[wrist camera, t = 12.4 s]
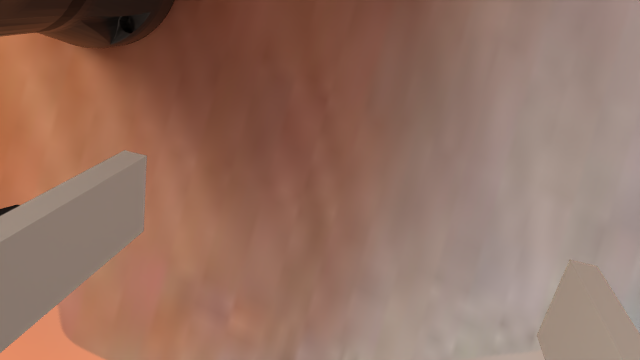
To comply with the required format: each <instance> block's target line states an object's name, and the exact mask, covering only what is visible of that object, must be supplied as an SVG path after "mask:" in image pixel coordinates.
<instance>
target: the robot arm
mask: <svg viewBox="0 0 640 360" xmlns="http://www.w3.org/2000/svg"><path fill="white" fill-rule="evenodd" d="M173 2H174V0H0V36H8V35H17V34H26V33H35V32H37V33H40V34H43V35H46V36H49V37H52V38H55V39H58V40H61V41H64V42H67V43H70V44H73V45H76V46H81V47H87V48H108V47H114V46H120V45H125V44H129V43H132V42H135V41H137V40H139V39H141V38H143V37H145V36H146V35H148V34H149V33H150V32H152V31H153V30H154V29H155V28H156V27H157V26H158V25H159V24H160V23H161V22H162V21H163V19H164V18H165V17H166V15H167V13H168V12H169V10H170V8H171V6H172V4H173ZM146 161H147V156H146V155H142V154H138V153H134V152H130V151H125V150H124V151H122V152H120V153H118V154H117V155H115V156H113V157H111V158H109V159H107V160H105V161H103V162H101V163H100V164H98V165H96V166H94V167H92V168H90V169H88V170H86V171H84V172H83V173H81V174H79V175H77V176H75V177H73V178H71V179H69V180H67V181H66V182H64V183H62V184H60V185H58V186H56V187H54V188H52V189H50V190H49V191H47V192H45V193H43V194H41V195H39V196H37V197H35V198H33V199H32V200H30V201H28V202H26V203H24V204H22V205H14V206H10V207H6V208H3V209H0V353H1V352H2V351H3V350H4V349H5V348H7V347H8V346H9V345H10V344H11V343H13V342H14V341H15V340H16V339H17V338H18V337H19V336H21V335H22V334H23V333H24V332H25V331H27V330H28V329H29V328H30V327H31V326H33V325H34V324H35V323H36V322H37V321H38V320H39V319H41V318H42V317H43V316H44V315H45V314H47V313H48V312H49V311H50V310H51V309H52V308H54V307H55V306H56V305H57V304H58V303H60V302H61V301H62V300H63V299H64V298H65V297H67V296H68V295H69V294H70V293H71V292H72V291H74V290H75V289H76V288H77V287H78V286H80V285H81V284H82V283H83V282H84V281H85V280H87V279H88V278H89V277H90V276H91V275H92V274H94V273H95V272H96V271H97V270H98V269H100V268H101V267H102V266H103V265H104V264H105V263H107V262H108V261H109V260H110V259H111V258H112V257H114V256H115V255H116V254H117V253H118V252H120V251H121V250H122V249H123V248H124V247H125V246H127V245H128V244H129V243H130V242H131V241H132V240H134V239H135V238H136V237H137V236H138V235H140V234H141V233H142V232H143V231H144V210H145V185H146ZM537 337H538V340H539V343H540V346H541V349H542V352H543V355H544V358H545V360H640V334H639V332H638V331H637V329H636V328H635V326H634V324H633V323H632V321H631V320H630V318H629V316H628V315H627V313H626V312H625V310H624V308H623V307H622V305H621V304H620V302H619V300H618V299H617V297H616V296H615V294H614V292H613V291H612V289H611V287H610V286H609V284H608V283H607V281H606V279H605V278H604V276H603V275H602V273H601V271H600V270H599V268H598V267H597V266H594V265H590V264H586V263H582V262H578V261H574V260H569V263H568V265H567V267H566V269H565V272H564V274H563V276H562V279H561V281H560V283H559V286H558V288H557V290H556V293H555V295H554V297H553V300H552V302H551V304H550V307H549V309H548V311H547V313H546V316H545V318H544V320H543V323H542V325H541V327H540V330H539V332H538V334H537Z"/></svg>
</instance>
